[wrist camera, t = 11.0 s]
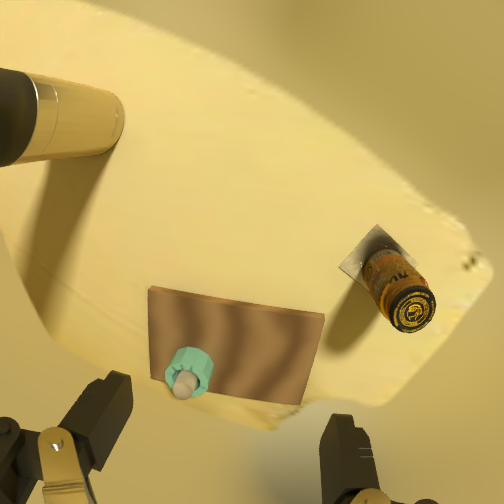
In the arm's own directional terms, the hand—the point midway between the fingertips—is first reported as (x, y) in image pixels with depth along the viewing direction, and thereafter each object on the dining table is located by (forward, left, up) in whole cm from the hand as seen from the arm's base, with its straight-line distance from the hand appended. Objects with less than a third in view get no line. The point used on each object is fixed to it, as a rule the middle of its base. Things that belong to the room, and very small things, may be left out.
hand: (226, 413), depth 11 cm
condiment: (+15, -2, -30) cm, 34 cm away
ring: (-8, -21, -29) cm, 37 cm away
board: (-3, -18, -30) cm, 35 cm away
